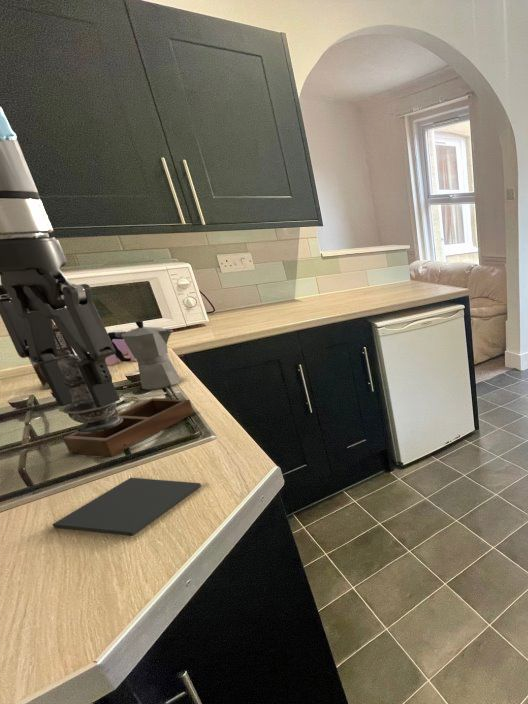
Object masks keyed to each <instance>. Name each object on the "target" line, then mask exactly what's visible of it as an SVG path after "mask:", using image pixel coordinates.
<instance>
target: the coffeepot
mask: <svg viewBox="0 0 528 704" xmlns="http://www.w3.org/2000/svg"><path fill="white" fill-rule="evenodd" d="M134 323H135V324H136V326H137V328H132V329H133V330H131V329H130V330H128V331H125V330H124V331H123V330H122V332H114V331H111V332H107V333H108V335H109V338H110V340H111V342H112V344H113V346H114V348H115V351H116V353H115V355H116V358H117V359H118V360H119V361H120V362H122V363H129V362H132V361H131V358H130V357H126V356H124V355H123V354H122V352H121V351H120V350H119V349H118V348H117V346H116V345H115V343H114V342H113V341H112V340H113V339H124V341H125V343H126V344H127V346H128V348H129V349H130V351H131V353H132V354H133V356H134V358H135V359H137V361H136V362H137V367H138V372H139V378H140V383H141V388H142V389H143V390H158V389H159V390H160V389H164V388H167V387H168V388H169V387H171V386H174V385H177V384H179V383H180V382H181V381H182V378H181V376H180V375H179V373H178V372H177V370H176V368H175V366H174V364H173V363H172V361H171V359H170V357H169V355H168V353H169V352H168V351H169V350H168V345H167V344H168V342H169V338H170V337H171V334H172V333H173V332H174V330H173V329H172V328H163V327H161V326H160V327H159V326H157V327H155V326H144V321H143V320H137V321H136V320H135V322H134Z"/></svg>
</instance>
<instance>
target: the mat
mask: <svg viewBox="0 0 528 704" xmlns="http://www.w3.org/2000/svg"><path fill="white" fill-rule="evenodd" d="M201 487H202V484H201V483H200V482H192V481H191V482H189V481H178V480H177V481H176V480H166V479H165V480H163V479H153V478H139V477H129V478H127V479H126V480H123V481H122V482H121V483H119V484H117V485H116V486H114V487H113V488H111V489H109V490H108V491H106V492H104V493H103V494H101V495H99V496H96V498H94V499H92V500H91V501H89V502H87V503H86V504H84V505H82V506H81V507H79V508H77V509H75V510H74V511H72V512H70V513H69V514H67V515H65V516H64V517H62V518H60V519H59V520H57V521H55V522H54V523H52V524H51V525H52V526H53V528H56V529H57V528H58V529H66V530H75V531H76V530H77V531H84V532H85V531H86V532H94V533H95V532H97V533H104V534H107V533H108V534H115V535H116V534H117V535H124V536H134V535H136V534H137V533H139V532H140V531H141V530H143V529H144V528H146V527H147V526H148V525H150V524H151V523H153V521H155V520H156V519H158V518H159V517H161V516H163V514H165V513H166V512H167V511H169V510H170V509H172V508H173V507H174V506H176V505H177V504H178V503H180V502H181V501H183V500H184V499H186V498H187V497H188V496H189V495H191V494H193V492H195V491H196V490H198V489H199V488H201Z"/></svg>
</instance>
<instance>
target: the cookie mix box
mask: <svg viewBox="0 0 528 704" xmlns="http://www.w3.org/2000/svg"><path fill="white" fill-rule="evenodd" d="M52 328H53V333H54V338H55V343H56V348H57V351H59V352H62V353H64V354H63V355H62V356H59V357H55V359H57V358H63V357H64V356H65V355H66V354H65V350H68V351H69V352H70V354H73V355H77V354H76V353H75V351H74V350H73V348H72V347H71V346H70V344H69V343H68V341H67V340H66V339H65V337H64V336H63V334H62V333H61V331H60V330H59V329H58V327H57V326H56V324H55V323H54V324H52ZM26 348H28V346H26ZM27 358H28V361H29V362H30V364H31V366H32V368H33V370H34V373H35V374H36V376H37V378H38V380H39V382H40V384H41V386H42V388H43V390H47V389H50V387H49V384H48V382H47V381H46V379H45V377H44V375H43V373H42V371H41V369H40V367H39V365H38V363H35V362H33V361H32V360H31V358H29V357H27Z"/></svg>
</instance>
